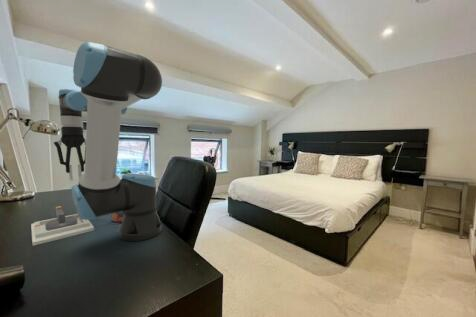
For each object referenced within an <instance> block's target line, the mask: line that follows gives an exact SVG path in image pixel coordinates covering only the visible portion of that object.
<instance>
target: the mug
mask: <svg viewBox="0 0 476 317" xmlns="http://www.w3.org/2000/svg"><path fill="white" fill-rule="evenodd" d="M123 218H124V211H122V212H118V213H113V214H111V217H110V220H111V221H112V222H117V223H119V222H121V223H122V221H123Z"/></svg>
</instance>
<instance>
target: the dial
mask: <svg viewBox="0 0 476 317" xmlns="http://www.w3.org/2000/svg"><path fill="white" fill-rule="evenodd" d="M55 213H56V214H55V215H56V218H57V219H56V220H53V221H50V222H48V223H46V225H45V227H46V230H54V229H58V228H63V227H67V226H72V225H76V224H77V218H74V217H66V218H65V216H66V215H65V212H64V210H63V208H62V205H59V206H55Z"/></svg>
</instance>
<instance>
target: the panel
mask: <svg viewBox="0 0 476 317" xmlns="http://www.w3.org/2000/svg"><path fill="white" fill-rule="evenodd" d="M66 217H74V218H77V224H76V225H72V226H67V227H63V228H58V229H54V230H46V227H45V225H46V223H48V222H50V221H53V220H56V219H57V217H54V218H50V219H49V218H48V219H44V220H39V221H34V223H30V225H31V227H30V228H31V242H32V243H31V245H32V247H34V246H37V245H41V244H44V243H45V244H46V243H49V242H50V243H51V242H53V241H57V240H58V241H59V240H61V239H66V238H70V237H74V236H77V235H82V234H86V233H89V232H93V231H95V226H93V224H92V223H91V221H90V219H86V220H83V219H81V218H80V217H79V216H78V214H77V213H74V214H70V215H65V218H66Z"/></svg>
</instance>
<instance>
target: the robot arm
mask: <svg viewBox="0 0 476 317" xmlns="http://www.w3.org/2000/svg"><path fill="white" fill-rule="evenodd" d="M72 73H73V78H72V79H73V83H74V84H75V85H76V86H77V87H78V88H80V90H75V89H70V88H69V89H68V88H61V89H59V90H58V101H59V112H60V116H59V117H60V125H61V128H60V129H61V138H60V139H59V140H57V141H54V142H53V145H54V146H55V147H56V151H57V155H58V160H59V164H60V165H63V166H65V172H66V174H69V180H70V181H73V166H72V165H71V164H70V163H71V155H72V154H71V152H72V149H73V148H75V150H76V153H77V158H78V162H79V164H77V171H78V174H77V175H78V184H74V185H72V186H71V197H72V200H73V204H74V209H75V210H76V214H78V216H79V217H80V218H81V219H83V220H86V219H88V220H90V219H91V220H93V219H97V218H100V217H104V216H109V215H112V214H113V213H118V212H122V211H124V218H123V221H121V225H120V227H119V238H120V239H121V240H123V241H126V242H140V241H145V240H148V239H152V238H153V237H156V236H159V234H160V233H161V232H162V228H163V227H162V222H161V220H160V216H159V214H158V212H157V210H158V209H157V184H156V178H155V177H154V176H152V175H150V174H142V173H124V174H122V176H121V177H120V176H119V175H118V174H117V167H118V166H117V164H118V154H119V144H120V142H119V141H120V135H121V134H120V131H121V121H122V120H121V119H122V115H125V114H126V112H127V110H128V107H130V106H132V105H133V104H135V103H137V102H139V101H141V100H150V99H152V98H153V97H155V96H157V95H158V93H159V92H160V91H161V90H162V85H163V78H162V74H161V72H160V70H159V68H158V66H156V64H155V63H154V62H153V61H152V60H151V59H149V58H147V57H145V56H143V55H139V54H136V53H133V52H128V51H126V50H121V49H119V48H114V47H112V46H108V45H106V44H101V43H97V42H92V41H85V42H83V43H81V44H80V45H79V47H78V49H77V51H76V54H75V57H74V62H73V70H72ZM82 112H84V113H85V112H86V128H85V129H86V130H85V131H86V132H85V134H86V135H85V136H86V137H84V127H83V123H84V122H83V114H82ZM62 144H63V145H64V146H65V147H66V154H65V161H64V157H63V155H64V154H63V151H62V147H61V146H62ZM83 144H84V145H85V148H84V158H83V154H82V148H81V146H82V145H83ZM82 173H84V174H82Z"/></svg>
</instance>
